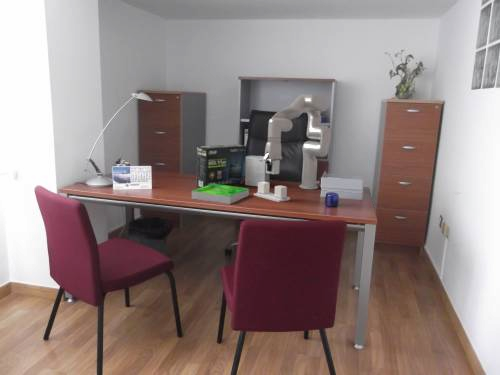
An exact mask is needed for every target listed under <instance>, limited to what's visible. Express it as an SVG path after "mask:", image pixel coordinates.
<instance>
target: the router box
mask: <svg viewBox="0 0 500 375" xmlns="http://www.w3.org/2000/svg"><path fill="white" fill-rule="evenodd" d="M196 149H197V151H196V182H195V183H196V187H197V188H202V187H205V186H208V185H211V184H218V185H226V186H236V185H242V184H244V185H245V156H247V146H246V145H243V144H227V145H226V144H225V145H222V144H221V145H206V146H197V147H196Z"/></svg>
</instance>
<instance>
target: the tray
mask: <svg viewBox="0 0 500 375" xmlns="http://www.w3.org/2000/svg"><path fill="white" fill-rule="evenodd" d="M249 192H250V189H249V187H241V186H235V185H230V186H226V185H218V184H211V185H208V186H205V187H202V188H200V187H198V188H196V189H193V190H191V199H192V200H199V201H206V202H211V203H212V202H213V203H217V204H218V203H219V204H226V205H231V203H232V204H234V203H235V202H238V201H240V200H242V199H244V198H247V197H248V196H249ZM233 202H234V203H233Z"/></svg>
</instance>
